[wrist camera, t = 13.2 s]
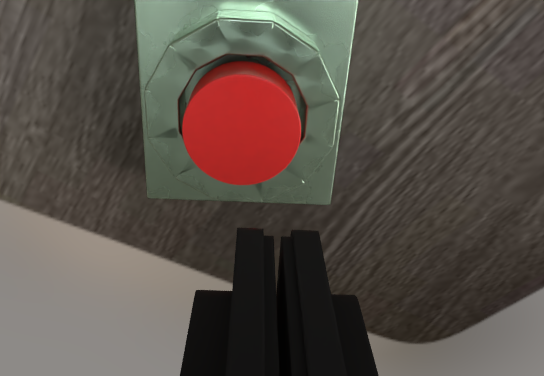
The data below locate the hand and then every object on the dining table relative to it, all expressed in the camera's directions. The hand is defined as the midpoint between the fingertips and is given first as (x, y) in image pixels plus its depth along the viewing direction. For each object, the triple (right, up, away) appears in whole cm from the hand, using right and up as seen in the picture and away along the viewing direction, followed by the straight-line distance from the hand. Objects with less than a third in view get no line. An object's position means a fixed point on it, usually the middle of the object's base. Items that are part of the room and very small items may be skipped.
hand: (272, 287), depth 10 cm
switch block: (-1, +6, +11) cm, 13 cm away
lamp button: (-1, +5, +8) cm, 9 cm away
